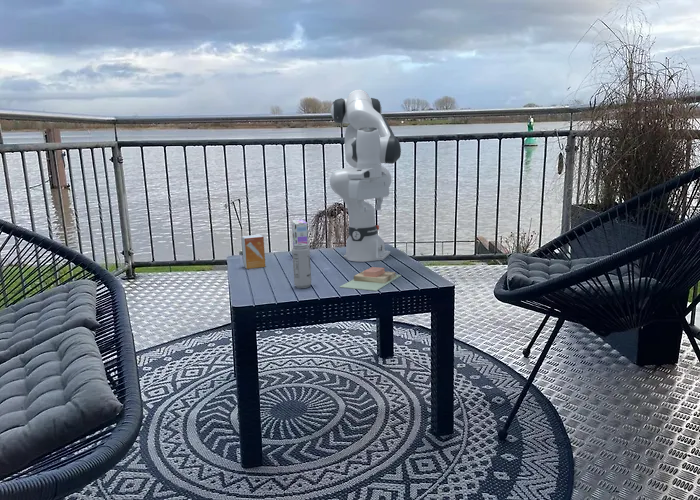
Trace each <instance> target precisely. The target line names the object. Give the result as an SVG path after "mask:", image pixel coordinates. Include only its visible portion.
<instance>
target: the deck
mask: <svg viewBox="0 0 700 500" xmlns="http://www.w3.org/2000/svg"><path fill="white" fill-rule="evenodd" d="M364 271H365V270H363V271H361V272H359V273H357V274H355V275H353V279H354V281H364V282H375V283H386V282H388V281H389V280H391V279H393V278H394V277H396V275H397V274H396V271H387V270H386V271H385V270H384V271H385V273H383V274H381V275H380V276H378V277H368V276H364Z"/></svg>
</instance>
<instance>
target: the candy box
mask: <svg viewBox="0 0 700 500" xmlns="http://www.w3.org/2000/svg"><path fill="white" fill-rule="evenodd" d="M290 222H291V233H292V247H294V244H299V243H306V244H308V247H309V248H310V245H309V244H310V243H309V241H310V240H309V224H308V222H307V221H306V220H304V219H293V220H291V221H290Z"/></svg>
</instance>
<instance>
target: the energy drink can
mask: <svg viewBox="0 0 700 500" xmlns="http://www.w3.org/2000/svg"><path fill="white" fill-rule="evenodd" d="M292 247H293V246H292ZM291 251H292V269H293V270H292V271H293V282H294V283H293V284H294V286H295V287H296V288H297V289H307V288H310V287H311V285H312V270H311V269H312V267H311V254H310V253H311V251H310V246H309V247H308V244H306V243H299V244H294V247H293V248H292V249H291Z"/></svg>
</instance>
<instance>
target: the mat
mask: <svg viewBox="0 0 700 500" xmlns="http://www.w3.org/2000/svg"><path fill="white" fill-rule="evenodd" d="M400 277H402V274H396V277H394V278H393V279H391V280H389V281H388V282H386V283H375V282H364V281H354V278H353V279H352V280H349V281H347V282H346V283H344V284H342V285H340V286H339V289H341V288H342V289H352V290H360V291H361V290H363V291H371V292H373V291H374V292H377V291H379V290H380V289H383V288H384V287H386V286H387V285H389V284H390V283H392V282H394V281H395V280H398V279H399V278H400Z"/></svg>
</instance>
